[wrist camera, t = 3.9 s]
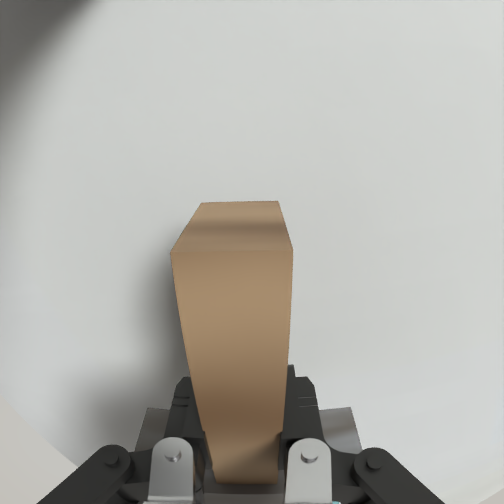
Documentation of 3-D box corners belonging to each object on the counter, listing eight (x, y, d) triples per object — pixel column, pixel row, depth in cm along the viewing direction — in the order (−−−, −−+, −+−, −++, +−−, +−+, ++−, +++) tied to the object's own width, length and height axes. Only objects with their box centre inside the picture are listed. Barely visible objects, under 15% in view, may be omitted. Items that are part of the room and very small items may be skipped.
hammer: (95, 208, 10) (15, 263, 6) (391, 202, 10) (467, 256, 6) (154, 424, 14) (136, 494, 10) (344, 424, 14) (361, 495, 10)
